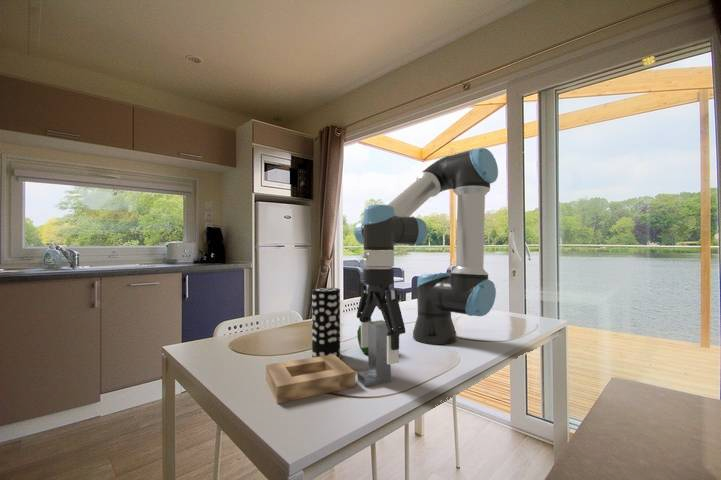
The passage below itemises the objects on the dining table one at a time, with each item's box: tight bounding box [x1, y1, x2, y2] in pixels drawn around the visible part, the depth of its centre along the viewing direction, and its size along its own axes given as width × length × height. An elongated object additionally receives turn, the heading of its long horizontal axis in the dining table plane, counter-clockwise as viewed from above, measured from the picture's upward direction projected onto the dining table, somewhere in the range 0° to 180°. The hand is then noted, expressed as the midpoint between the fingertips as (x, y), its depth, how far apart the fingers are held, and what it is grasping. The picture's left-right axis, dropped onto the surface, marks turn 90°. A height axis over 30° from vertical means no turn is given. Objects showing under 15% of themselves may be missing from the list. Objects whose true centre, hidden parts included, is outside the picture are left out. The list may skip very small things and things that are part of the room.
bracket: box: [357, 319, 392, 388], centre depth 79 cm, size 7×4×14 cm, turn 116°
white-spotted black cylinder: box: [311, 287, 341, 359], centre depth 97 cm, size 8×8×20 cm
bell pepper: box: [357, 321, 372, 355], centre depth 101 cm, size 8×8×10 cm
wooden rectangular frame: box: [265, 354, 356, 404], centre depth 78 cm, size 18×14×4 cm
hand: (378, 354), depth 80 cm, fingers open, 13 cm apart
